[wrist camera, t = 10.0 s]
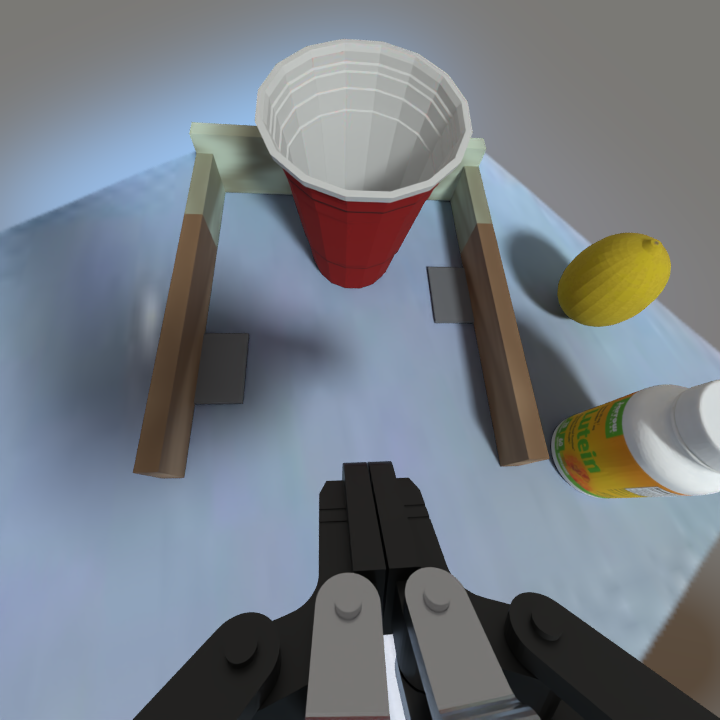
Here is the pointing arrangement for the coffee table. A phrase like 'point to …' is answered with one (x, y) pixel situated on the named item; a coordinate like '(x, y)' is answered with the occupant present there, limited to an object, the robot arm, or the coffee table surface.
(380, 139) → the plastic cup
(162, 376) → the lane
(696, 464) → the supplement bottle
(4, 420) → the coffee table surface
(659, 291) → the lemon
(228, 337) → the pads
